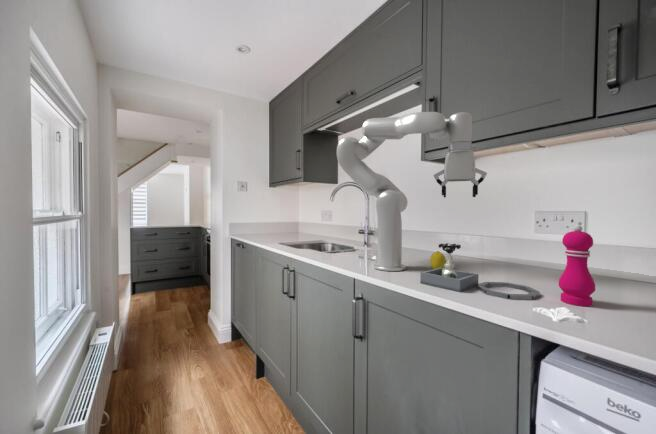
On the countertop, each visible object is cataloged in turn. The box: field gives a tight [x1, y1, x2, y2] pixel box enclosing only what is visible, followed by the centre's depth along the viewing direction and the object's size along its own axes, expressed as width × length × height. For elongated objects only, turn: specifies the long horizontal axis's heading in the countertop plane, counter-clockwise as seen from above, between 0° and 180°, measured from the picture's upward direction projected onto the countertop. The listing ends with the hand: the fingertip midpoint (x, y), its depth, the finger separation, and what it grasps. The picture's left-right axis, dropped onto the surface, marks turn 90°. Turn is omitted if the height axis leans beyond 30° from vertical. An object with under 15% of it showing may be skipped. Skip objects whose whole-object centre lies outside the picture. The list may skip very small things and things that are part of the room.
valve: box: [438, 242, 462, 279], centre depth 92 cm, size 7×7×12 cm
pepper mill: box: [558, 224, 596, 307], centre depth 75 cm, size 7×7×20 cm
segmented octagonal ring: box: [476, 281, 541, 301], centre depth 85 cm, size 15×15×1 cm
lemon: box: [429, 250, 447, 270], centre depth 111 cm, size 6×6×8 cm
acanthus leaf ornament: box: [532, 306, 590, 324], centre depth 65 cm, size 8×7×2 cm
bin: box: [419, 267, 479, 293], centre depth 93 cm, size 13×12×4 cm
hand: (459, 197), depth 104 cm, fingers open, 9 cm apart
